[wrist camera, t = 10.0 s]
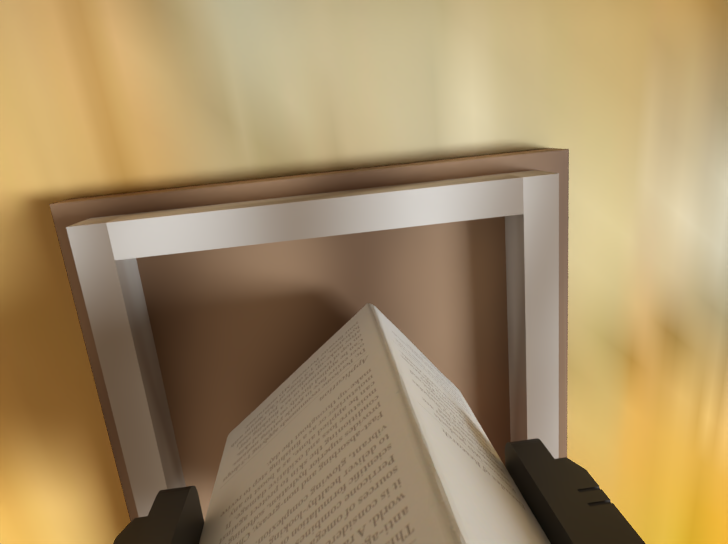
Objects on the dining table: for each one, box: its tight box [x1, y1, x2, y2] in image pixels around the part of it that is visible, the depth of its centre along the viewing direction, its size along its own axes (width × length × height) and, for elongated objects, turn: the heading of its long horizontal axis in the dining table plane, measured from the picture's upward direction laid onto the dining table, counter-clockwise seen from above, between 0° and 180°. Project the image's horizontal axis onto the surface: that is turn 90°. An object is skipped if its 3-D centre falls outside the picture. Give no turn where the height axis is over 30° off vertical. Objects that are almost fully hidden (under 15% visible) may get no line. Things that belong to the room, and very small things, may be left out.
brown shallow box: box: [49, 148, 569, 522], centre depth 17 cm, size 15×18×3 cm
